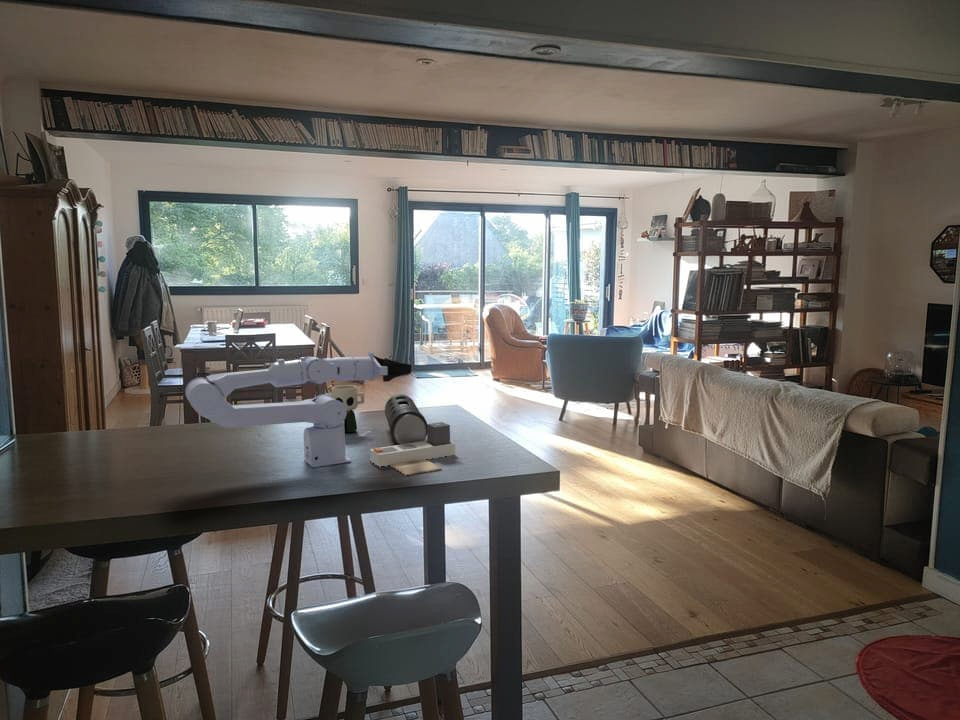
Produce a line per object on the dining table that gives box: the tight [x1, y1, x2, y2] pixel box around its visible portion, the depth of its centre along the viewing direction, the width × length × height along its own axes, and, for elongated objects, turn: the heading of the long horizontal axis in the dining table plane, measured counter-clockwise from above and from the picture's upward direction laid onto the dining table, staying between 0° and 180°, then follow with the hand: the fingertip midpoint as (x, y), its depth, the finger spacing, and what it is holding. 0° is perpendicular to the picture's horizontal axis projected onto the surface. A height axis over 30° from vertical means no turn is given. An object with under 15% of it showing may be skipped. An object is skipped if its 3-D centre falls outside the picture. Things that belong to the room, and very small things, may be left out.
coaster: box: [389, 459, 443, 477], centre depth 158 cm, size 9×9×1 cm
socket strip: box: [369, 440, 456, 468], centre depth 166 cm, size 20×6×4 cm, turn 120°
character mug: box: [326, 384, 365, 433], centre depth 194 cm, size 11×7×13 cm, turn 101°
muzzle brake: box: [384, 394, 428, 445], centre depth 185 cm, size 10×28×10 cm, turn 12°
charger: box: [426, 421, 451, 446], centre depth 169 cm, size 4×4×6 cm
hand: (404, 367), depth 172 cm, fingers open, 7 cm apart
